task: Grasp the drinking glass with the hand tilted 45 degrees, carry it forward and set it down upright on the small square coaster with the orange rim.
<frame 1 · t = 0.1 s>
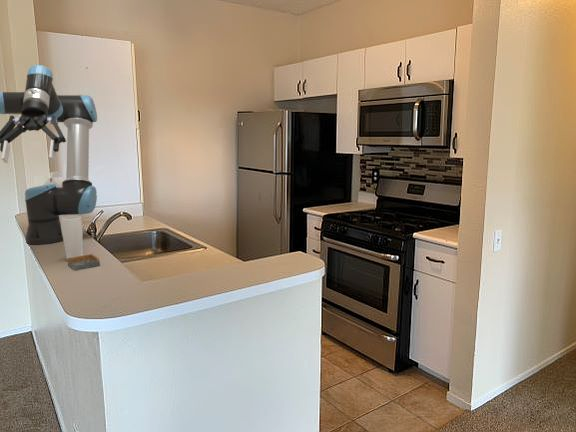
hand: (28, 160, 144), 36 cm above the countertop, tool tilted 35°, fingers open, 13 cm apart
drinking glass: (75, 259, 163), on the countertop
milk: (60, 223, 233), on the countertop
square coaster: (84, 265, 155), on the countertop
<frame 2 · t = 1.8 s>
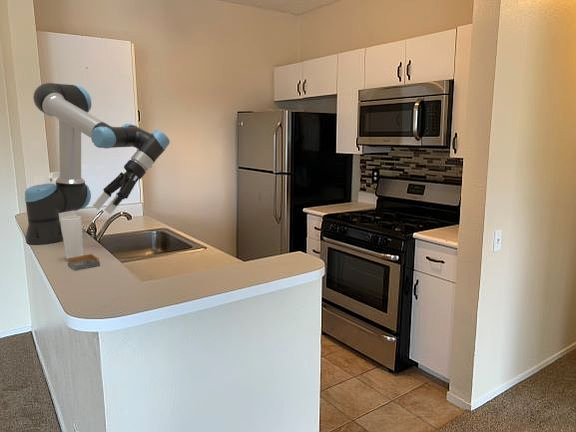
hand: (101, 209, 167), 17 cm above the countertop, tool tilted 45°, fingers open, 13 cm apart
nothing on the countertop moved.
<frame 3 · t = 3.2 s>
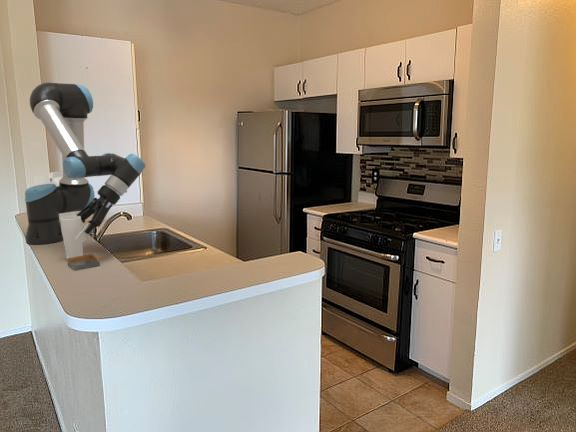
hand: (73, 237, 161), 8 cm above the countertop, tool tilted 45°, fingers open, 13 cm apart
nothing on the countertop moved.
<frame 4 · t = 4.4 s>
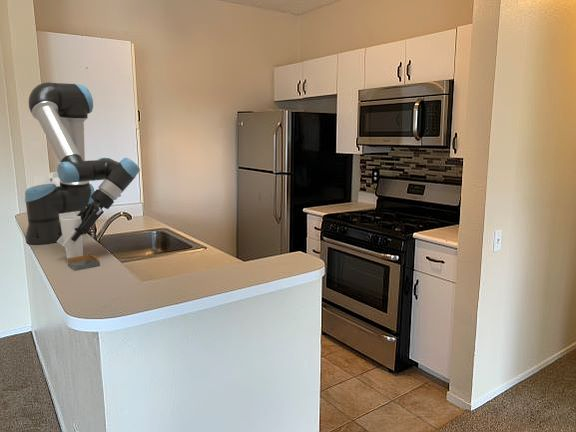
hand: (62, 245, 160), 5 cm above the countertop, tool tilted 45°, fingers closed on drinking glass, 7 cm apart
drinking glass: (75, 259, 163), on the countertop, touching gripper
everything else where it was.
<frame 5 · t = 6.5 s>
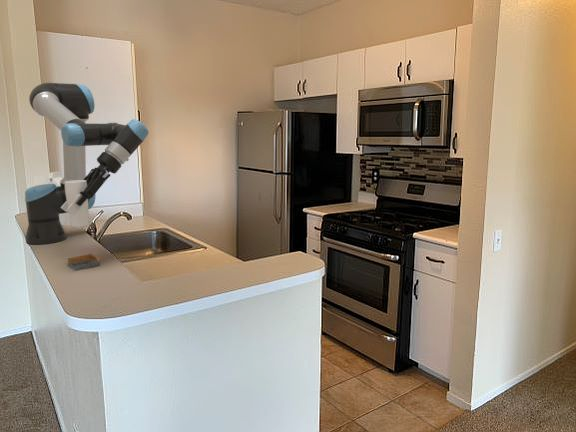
hand: (67, 211, 149), 19 cm above the countertop, tool tilted 45°, fingers closed on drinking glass, 7 cm apart
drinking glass: (80, 226, 152), point 13 cm above the countertop, touching gripper
everything else where it was.
when the fingers open (8 cm above the countertop, at t = 8.8 s): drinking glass drops 1 cm, resting on square coaster.
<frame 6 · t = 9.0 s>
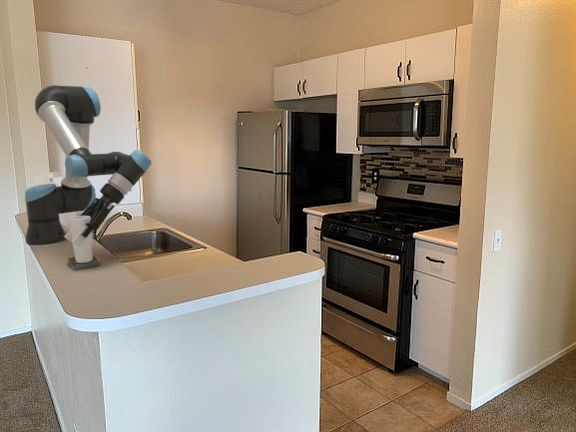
hand: (71, 241, 151), 9 cm above the countertop, tool tilted 45°, fingers open, 9 cm apart
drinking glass: (84, 262, 154), point 1 cm above the countertop, touching square coaster
everything else where it was.
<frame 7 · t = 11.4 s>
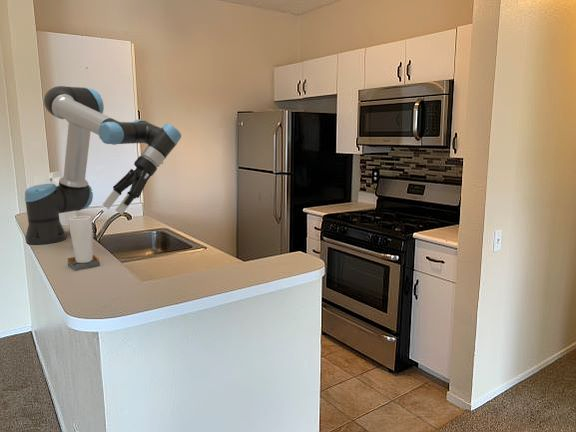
hand: (111, 209, 159), 18 cm above the countertop, tool tilted 45°, fingers open, 13 cm apart
nothing on the countertop moved.
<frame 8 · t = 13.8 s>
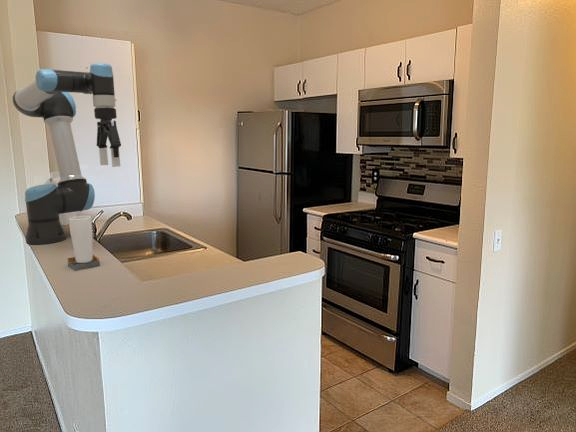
hand: (110, 165, 173), 32 cm above the countertop, tool pointing down, fingers open, 13 cm apart
nothing on the countertop moved.
at the end: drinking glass inside the target area on the square coaster (0.8 cm from its centre), point 1.3 cm above the square coaster's base; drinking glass tilted 0°; the gripper is holding nothing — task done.
